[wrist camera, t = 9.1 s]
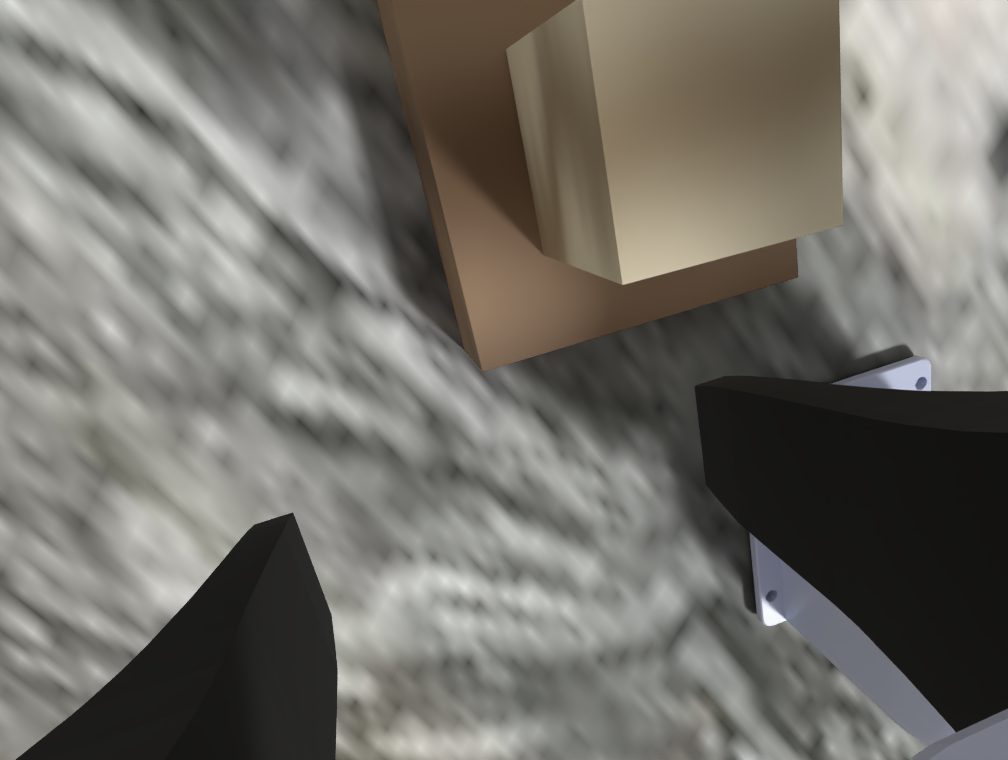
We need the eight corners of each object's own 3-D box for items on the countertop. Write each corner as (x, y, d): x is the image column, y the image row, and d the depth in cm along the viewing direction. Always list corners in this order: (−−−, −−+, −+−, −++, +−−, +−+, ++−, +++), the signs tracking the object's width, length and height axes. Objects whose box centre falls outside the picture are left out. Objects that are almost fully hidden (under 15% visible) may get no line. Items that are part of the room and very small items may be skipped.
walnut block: (739, 265, 22) (798, 277, 19) (461, 346, 20) (482, 371, 18) (707, -71, 19) (773, -115, 16) (370, -8, 17) (379, -45, 14)
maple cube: (711, 212, 18) (843, 225, 13) (543, 255, 17) (622, 285, 13) (693, 12, 16) (838, -52, 12) (505, 49, 15) (581, -4, 11)
